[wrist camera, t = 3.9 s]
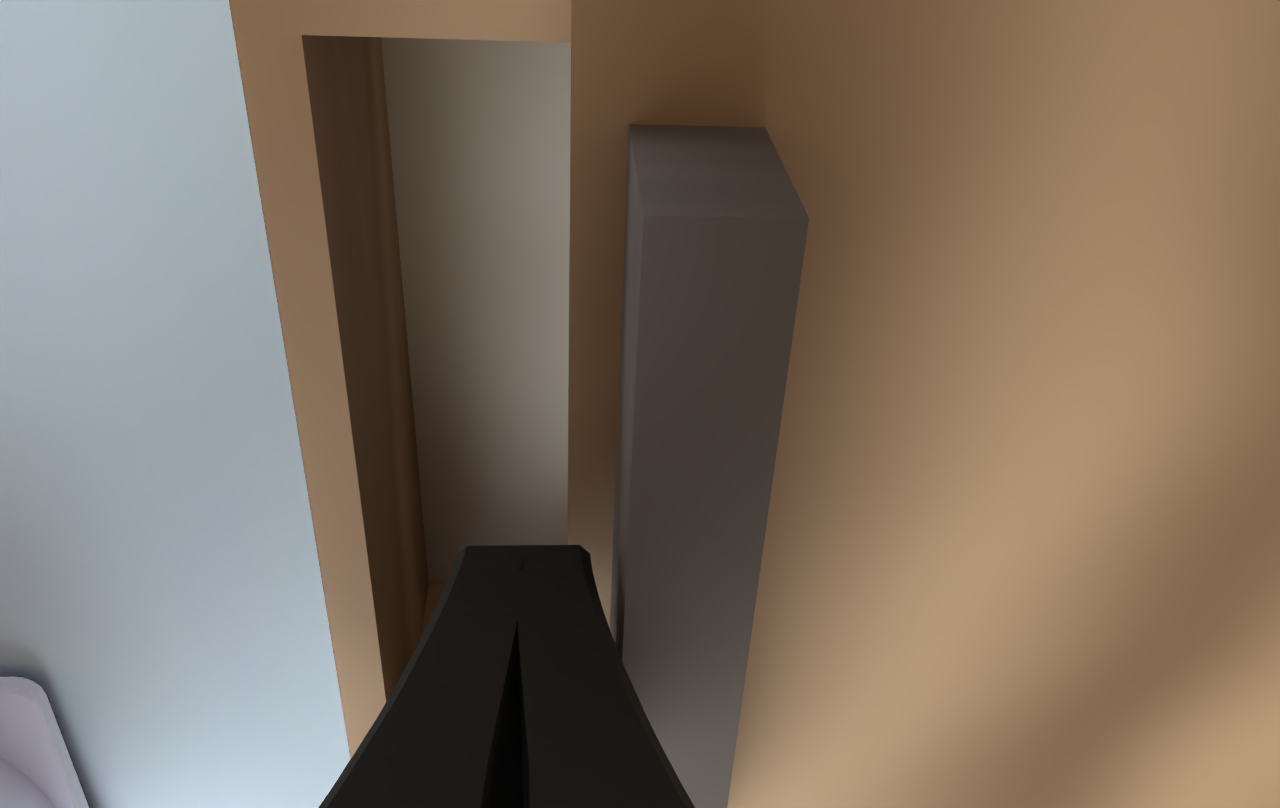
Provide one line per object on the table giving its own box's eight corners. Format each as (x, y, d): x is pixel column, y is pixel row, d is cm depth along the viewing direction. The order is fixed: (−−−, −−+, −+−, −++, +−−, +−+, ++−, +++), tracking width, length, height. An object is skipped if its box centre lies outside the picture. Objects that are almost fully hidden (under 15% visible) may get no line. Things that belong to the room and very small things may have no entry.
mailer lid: (565, 841, 16) (565, 1033, 14) (571, -56, 9) (574, 24, 7) (1472, 815, 17) (1617, 990, 15) (2085, -2, 10) (2533, 82, 8)
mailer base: (401, 586, 20) (359, 816, 16) (327, -115, 14) (223, -37, 9) (1115, 579, 21) (1252, 793, 17) (1366, -76, 15) (1689, 12, 10)
